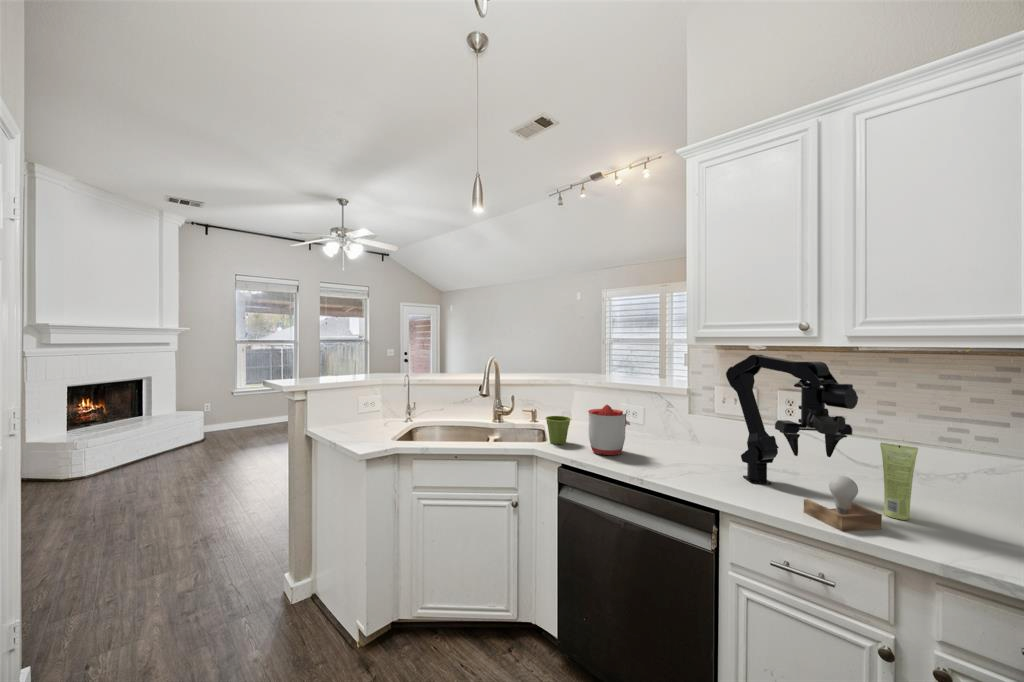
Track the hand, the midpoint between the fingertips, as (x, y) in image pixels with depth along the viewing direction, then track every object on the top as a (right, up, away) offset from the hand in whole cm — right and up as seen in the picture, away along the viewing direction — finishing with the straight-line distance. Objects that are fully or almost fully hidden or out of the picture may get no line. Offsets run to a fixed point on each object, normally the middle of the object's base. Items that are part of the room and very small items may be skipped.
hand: (812, 456), depth 124 cm
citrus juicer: (-49, -13, +51) cm, 71 cm away
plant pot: (-68, -12, +66) cm, 96 cm away
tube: (+15, -13, -11) cm, 23 cm away
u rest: (-2, -13, -14) cm, 19 cm away
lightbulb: (-2, -13, -14) cm, 19 cm away
